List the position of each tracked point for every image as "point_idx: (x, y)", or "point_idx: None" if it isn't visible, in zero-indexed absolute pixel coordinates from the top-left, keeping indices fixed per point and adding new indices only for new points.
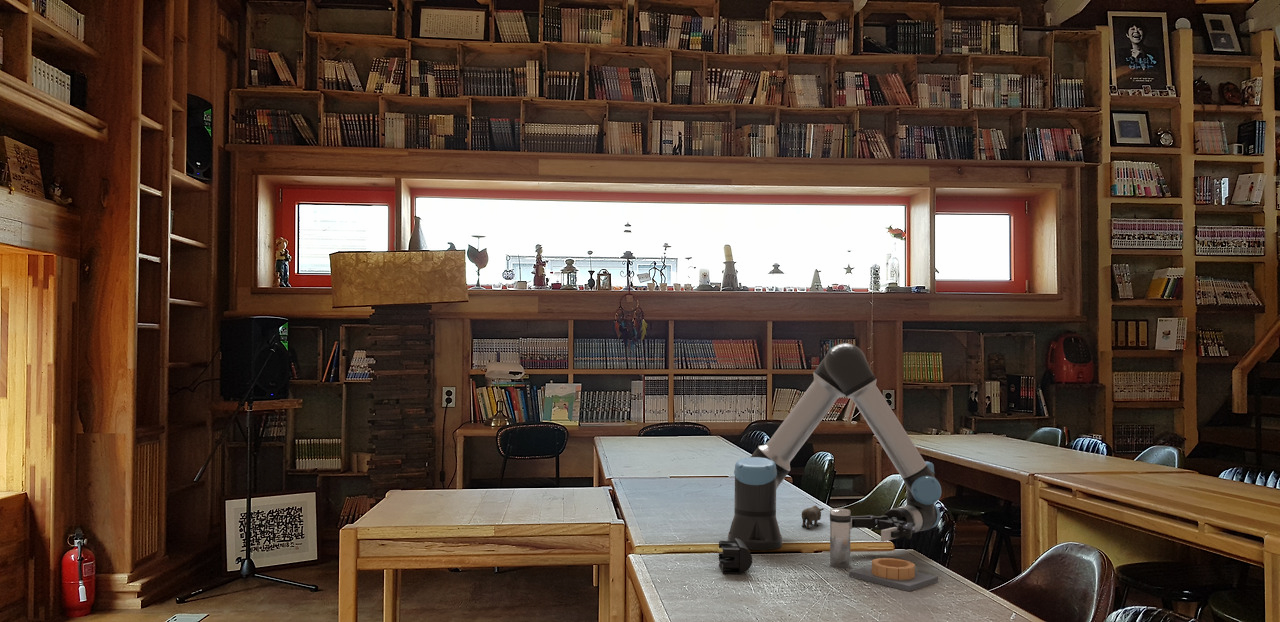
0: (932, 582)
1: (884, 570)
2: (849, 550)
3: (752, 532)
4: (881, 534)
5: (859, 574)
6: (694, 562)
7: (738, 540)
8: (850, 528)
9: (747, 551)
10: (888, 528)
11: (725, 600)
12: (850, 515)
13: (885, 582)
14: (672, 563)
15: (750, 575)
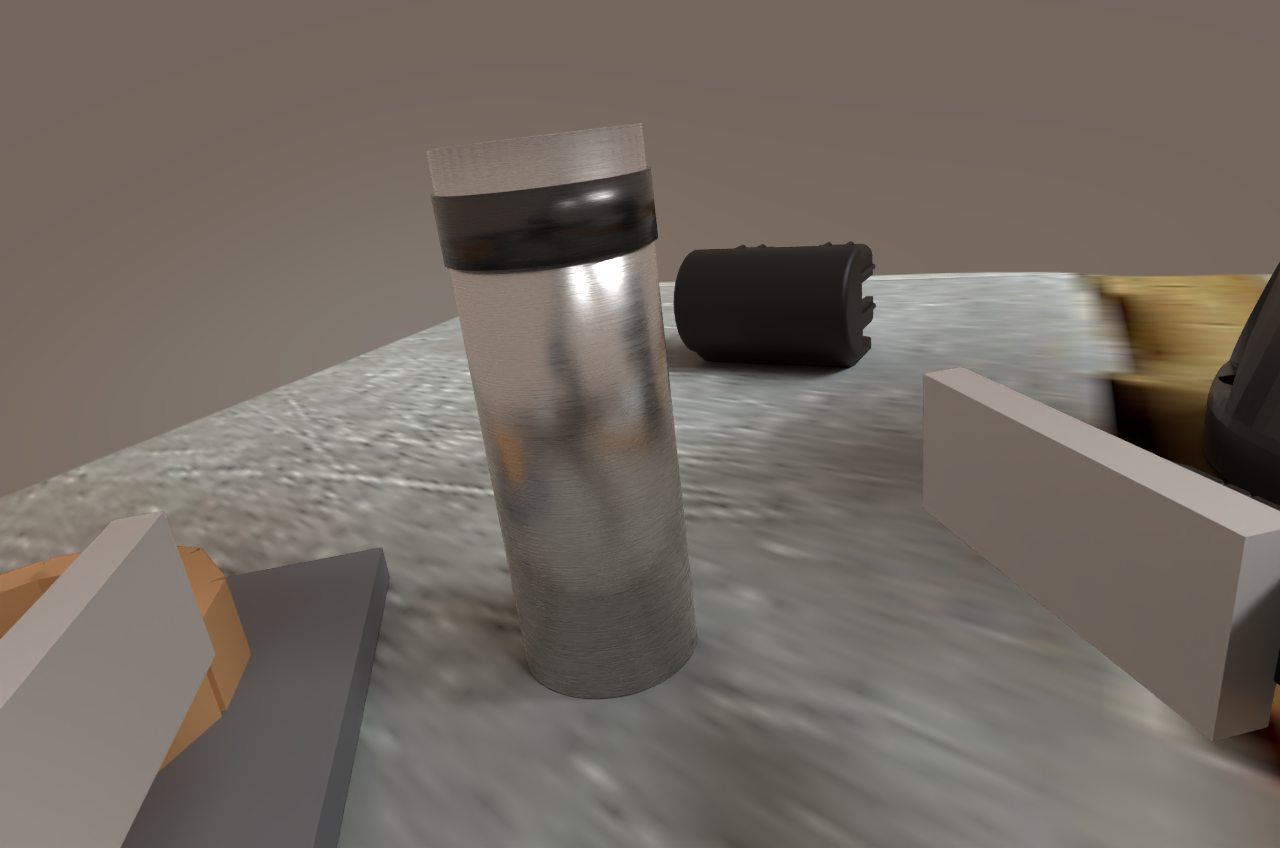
0: None
1: None
2: (503, 535)
3: (1251, 322)
4: (177, 571)
5: (296, 568)
6: (929, 320)
7: (809, 249)
8: (1164, 688)
9: (678, 273)
10: (59, 635)
11: None
12: (435, 199)
13: None
14: (927, 299)
15: (682, 371)
